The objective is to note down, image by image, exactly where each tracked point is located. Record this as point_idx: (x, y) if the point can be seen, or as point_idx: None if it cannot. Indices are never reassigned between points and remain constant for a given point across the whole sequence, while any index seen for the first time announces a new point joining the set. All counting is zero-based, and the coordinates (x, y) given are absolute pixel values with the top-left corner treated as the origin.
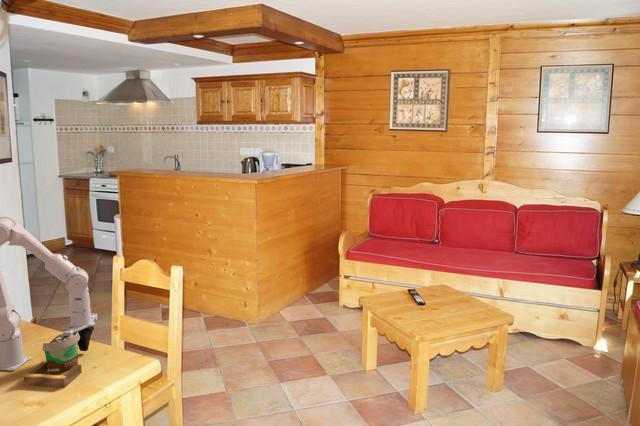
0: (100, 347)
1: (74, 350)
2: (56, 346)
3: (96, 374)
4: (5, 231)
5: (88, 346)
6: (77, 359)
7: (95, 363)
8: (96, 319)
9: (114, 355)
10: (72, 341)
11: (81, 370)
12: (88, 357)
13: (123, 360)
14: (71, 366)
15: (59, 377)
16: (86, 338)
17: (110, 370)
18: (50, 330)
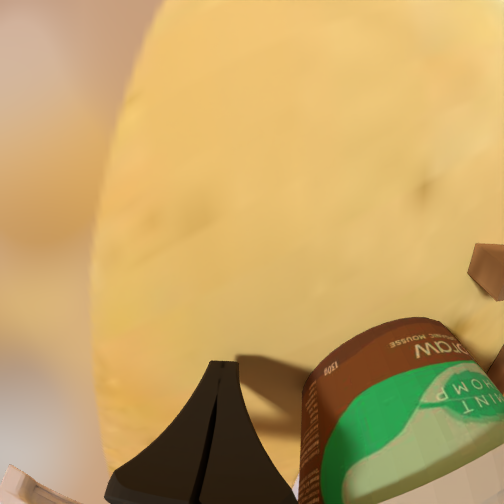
0: (122, 305)
1: (469, 397)
2: None
3: (497, 141)
4: None
5: (208, 374)
6: (381, 347)
7: (373, 216)
8: (19, 474)
9: (217, 123)
10: None
11: (486, 249)
12: (278, 312)
13: (300, 8)
14: (440, 329)
15: None
16: (246, 448)
17: (454, 62)
18: (110, 469)
